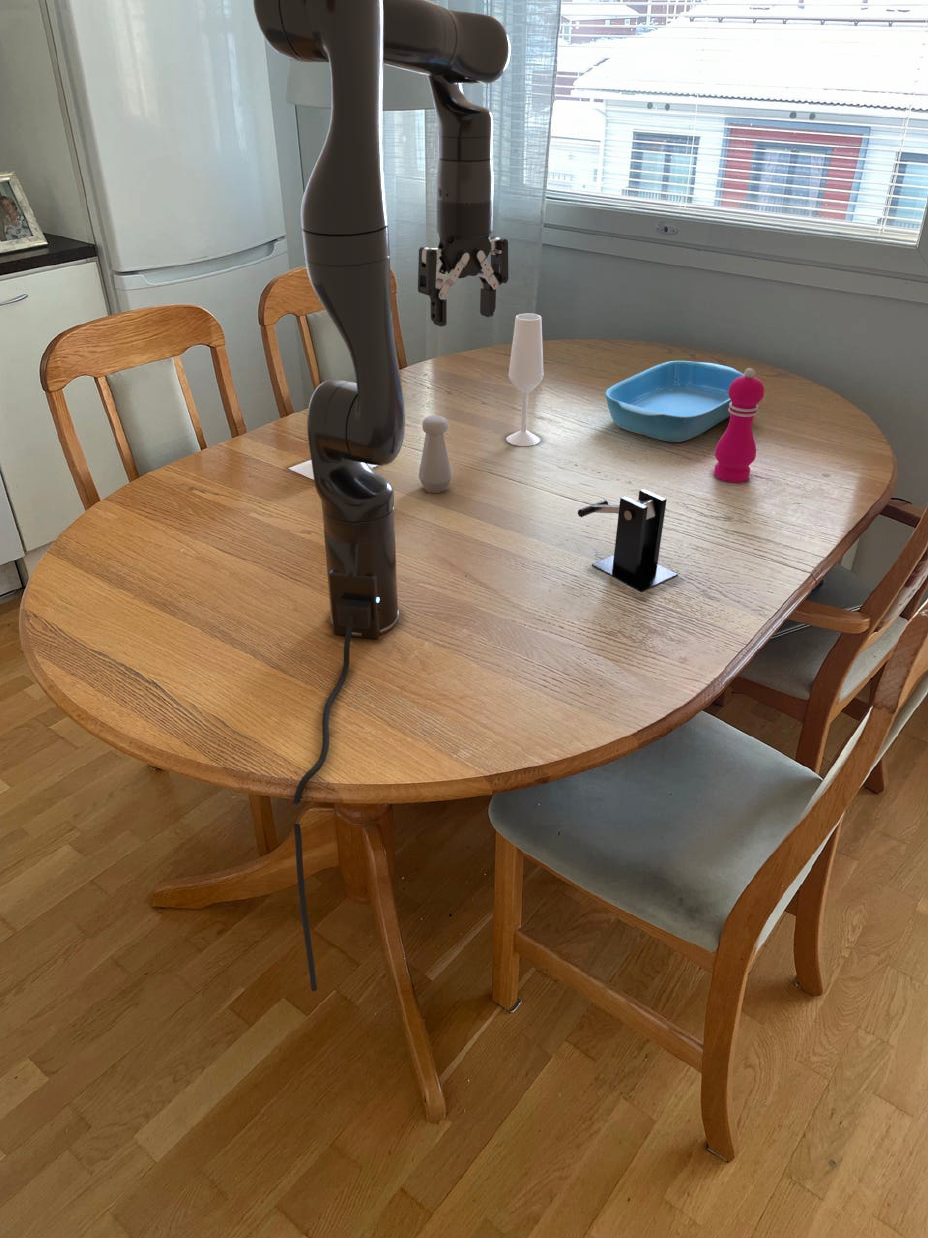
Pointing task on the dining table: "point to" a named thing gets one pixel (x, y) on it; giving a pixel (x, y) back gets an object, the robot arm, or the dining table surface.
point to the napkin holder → (309, 469)
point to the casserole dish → (673, 400)
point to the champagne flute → (526, 369)
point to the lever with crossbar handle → (614, 508)
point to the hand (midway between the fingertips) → (463, 320)
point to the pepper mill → (739, 429)
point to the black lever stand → (638, 544)
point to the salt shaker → (435, 456)
